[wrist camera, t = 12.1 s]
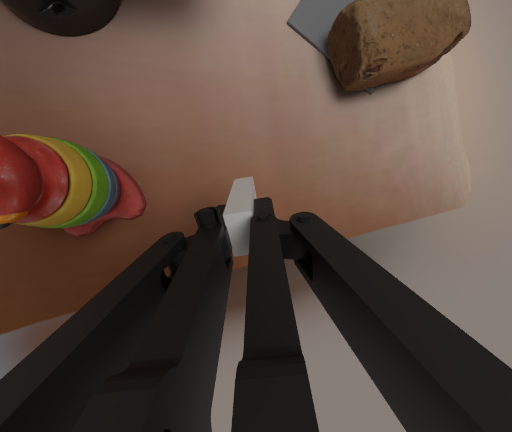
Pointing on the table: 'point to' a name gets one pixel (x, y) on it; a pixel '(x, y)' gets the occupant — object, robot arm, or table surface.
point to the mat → (318, 22)
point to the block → (393, 38)
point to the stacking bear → (62, 186)
